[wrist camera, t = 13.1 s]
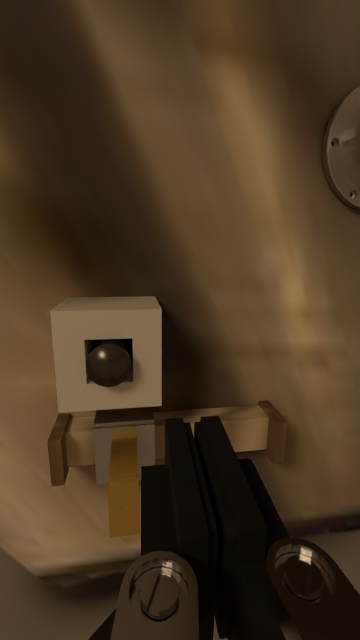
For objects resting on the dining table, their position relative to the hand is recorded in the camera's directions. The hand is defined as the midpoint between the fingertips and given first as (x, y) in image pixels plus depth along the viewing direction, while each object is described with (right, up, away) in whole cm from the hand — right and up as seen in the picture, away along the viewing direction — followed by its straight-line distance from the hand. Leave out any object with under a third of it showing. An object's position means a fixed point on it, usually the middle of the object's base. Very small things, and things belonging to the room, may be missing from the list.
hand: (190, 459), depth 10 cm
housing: (-7, +2, +24) cm, 26 cm away
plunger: (-7, +2, +23) cm, 24 cm away
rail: (-2, -8, +28) cm, 29 cm away
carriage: (-7, -8, +27) cm, 29 cm away
